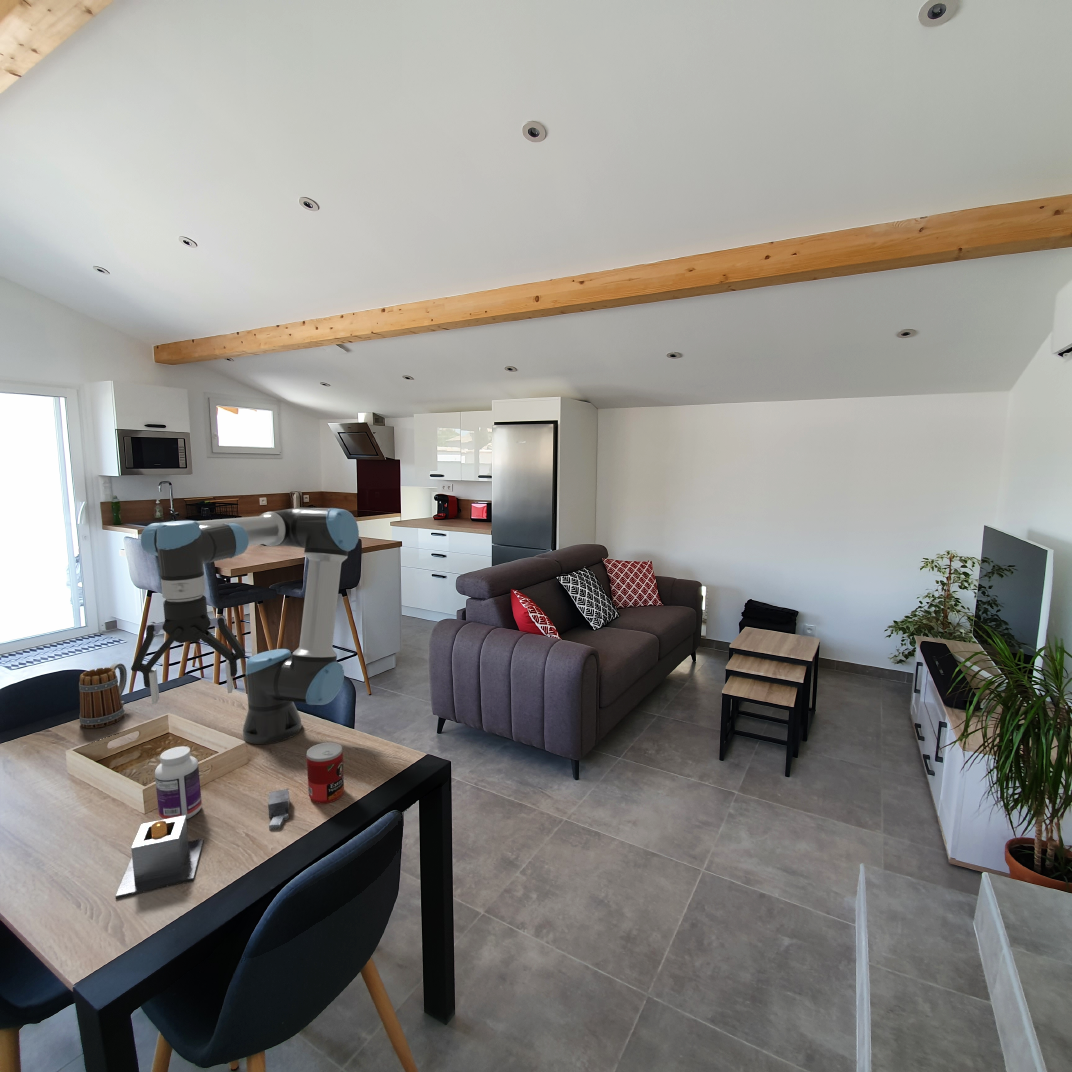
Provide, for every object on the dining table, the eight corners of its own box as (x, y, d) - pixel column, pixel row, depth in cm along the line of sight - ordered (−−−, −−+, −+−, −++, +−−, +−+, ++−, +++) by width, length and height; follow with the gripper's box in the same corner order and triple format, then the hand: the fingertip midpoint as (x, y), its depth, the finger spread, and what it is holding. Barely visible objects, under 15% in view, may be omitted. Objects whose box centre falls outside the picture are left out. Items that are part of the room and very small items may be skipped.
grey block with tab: (270, 804, 130) (269, 792, 129) (289, 800, 131) (288, 788, 131) (267, 831, 120) (266, 818, 120) (288, 827, 122) (287, 814, 122)
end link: (144, 857, 112) (141, 823, 111) (188, 847, 115) (185, 815, 114) (134, 883, 105) (131, 848, 104) (181, 872, 108) (178, 838, 107)
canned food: (333, 806, 129) (331, 760, 128) (301, 801, 131) (298, 756, 129) (350, 787, 137) (349, 743, 135) (320, 783, 138) (318, 740, 137)
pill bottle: (196, 798, 132) (191, 739, 130) (206, 814, 126) (201, 752, 124) (155, 813, 126) (149, 752, 124) (164, 830, 121) (158, 766, 119)
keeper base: (133, 855, 113) (129, 813, 112) (203, 840, 118) (200, 800, 116) (115, 899, 102) (110, 852, 101) (193, 880, 106) (189, 836, 105)
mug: (106, 729, 165) (101, 679, 163) (70, 729, 165) (64, 679, 163) (144, 705, 180) (140, 660, 178) (111, 705, 180) (106, 659, 178)
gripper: (105, 608, 109) (117, 713, 112) (251, 595, 118) (258, 693, 122) (116, 598, 116) (127, 698, 119) (253, 587, 125) (260, 680, 128)
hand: (193, 695), depth 120 cm, fingers open, 13 cm apart
